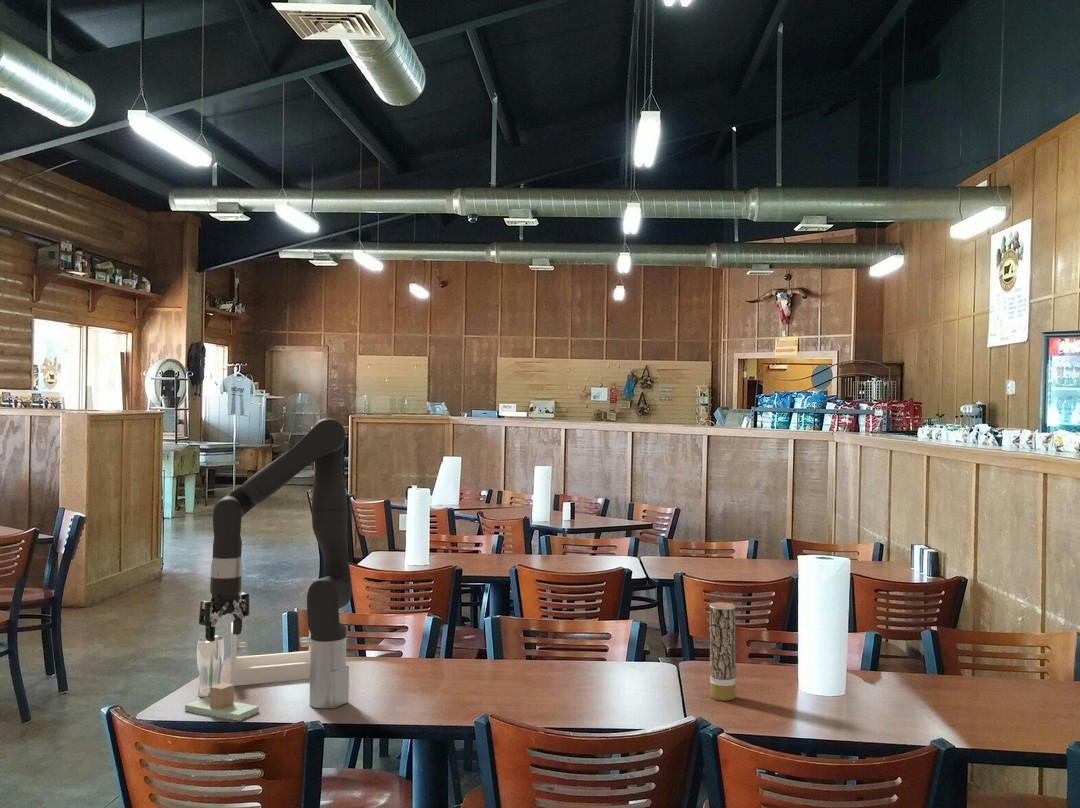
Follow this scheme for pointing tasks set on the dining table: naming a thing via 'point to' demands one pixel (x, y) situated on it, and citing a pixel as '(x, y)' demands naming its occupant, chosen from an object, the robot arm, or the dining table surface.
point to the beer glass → (209, 663)
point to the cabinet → (268, 664)
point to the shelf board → (224, 712)
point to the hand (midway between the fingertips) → (223, 637)
